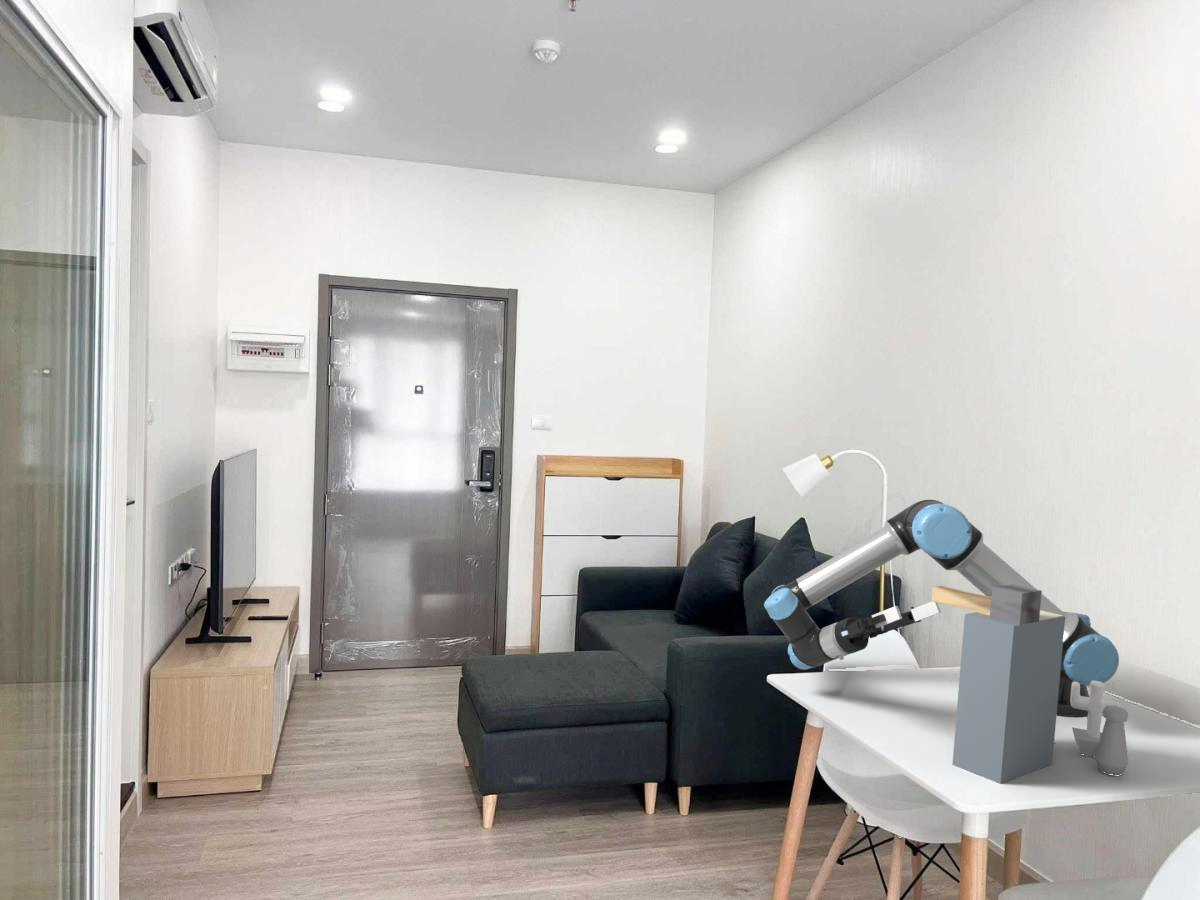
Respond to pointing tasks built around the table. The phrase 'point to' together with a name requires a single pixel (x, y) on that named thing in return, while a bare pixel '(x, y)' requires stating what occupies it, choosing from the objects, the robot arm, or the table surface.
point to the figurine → (1090, 715)
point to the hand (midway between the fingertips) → (918, 609)
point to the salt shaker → (1113, 742)
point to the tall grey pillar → (1008, 695)
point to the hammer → (995, 602)
